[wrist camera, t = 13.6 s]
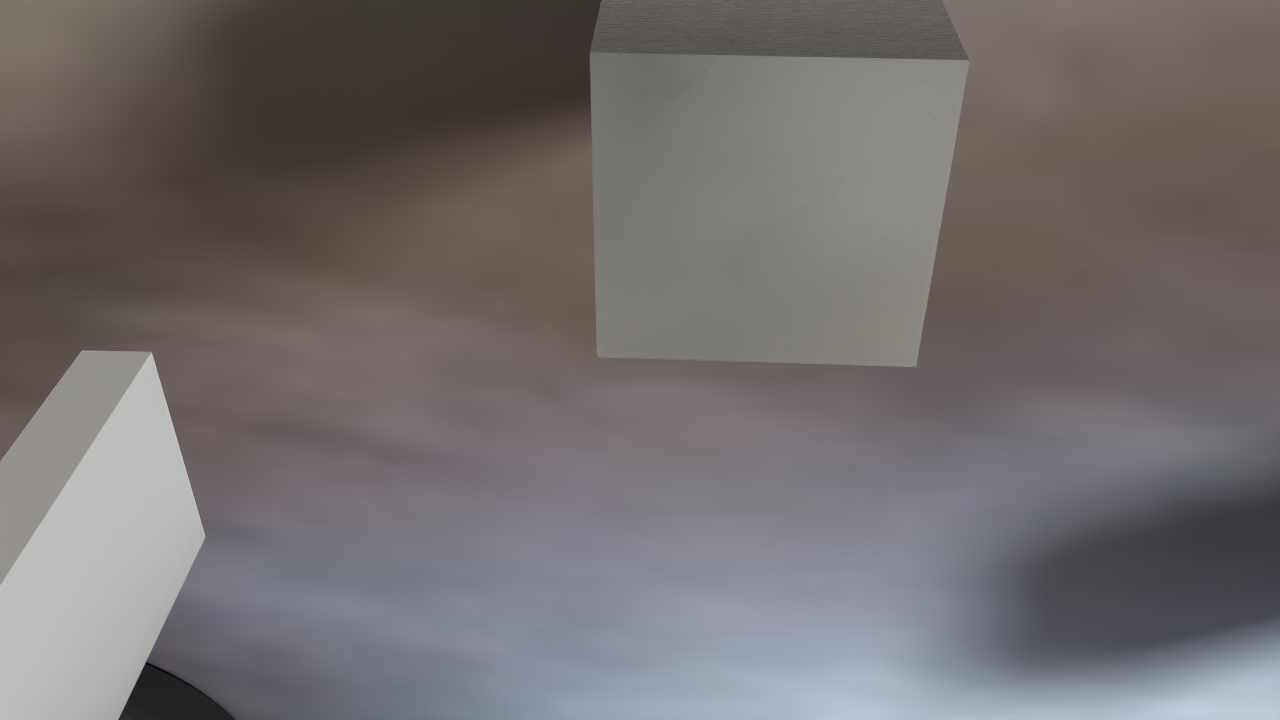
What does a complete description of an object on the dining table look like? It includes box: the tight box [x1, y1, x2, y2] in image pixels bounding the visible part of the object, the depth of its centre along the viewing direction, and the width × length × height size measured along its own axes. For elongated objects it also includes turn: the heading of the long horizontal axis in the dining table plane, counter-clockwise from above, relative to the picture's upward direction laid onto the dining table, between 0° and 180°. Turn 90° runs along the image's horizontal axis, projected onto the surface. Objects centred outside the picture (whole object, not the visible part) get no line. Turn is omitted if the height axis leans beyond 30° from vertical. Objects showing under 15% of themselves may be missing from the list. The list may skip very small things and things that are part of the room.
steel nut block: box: [590, 0, 969, 367], centre depth 22 cm, size 5×5×13 cm
